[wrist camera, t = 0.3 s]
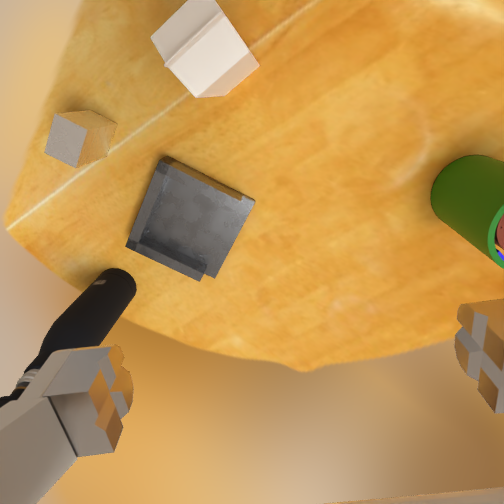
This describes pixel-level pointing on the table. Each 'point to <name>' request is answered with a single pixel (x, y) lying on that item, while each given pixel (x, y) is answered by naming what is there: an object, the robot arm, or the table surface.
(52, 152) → the block
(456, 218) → the green pencil holder
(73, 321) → the black water bottle
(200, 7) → the milk
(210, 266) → the bracket
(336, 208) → the table surface
